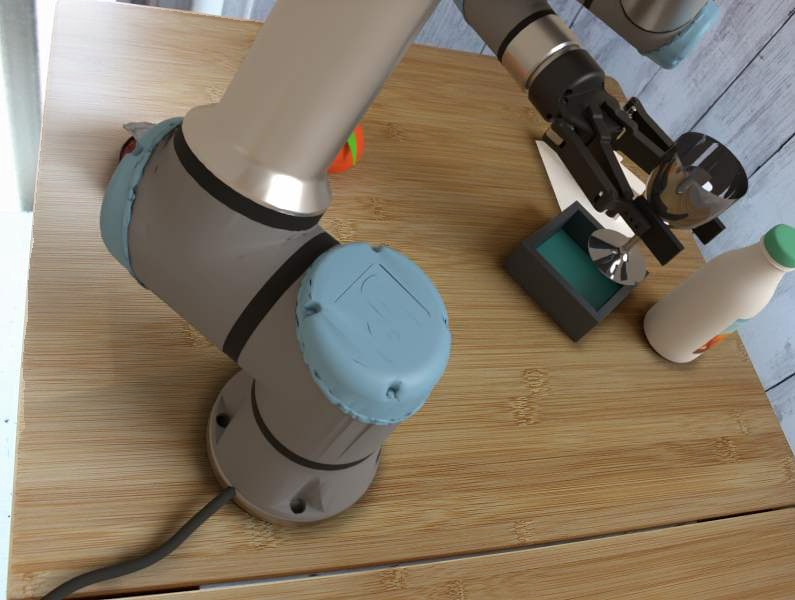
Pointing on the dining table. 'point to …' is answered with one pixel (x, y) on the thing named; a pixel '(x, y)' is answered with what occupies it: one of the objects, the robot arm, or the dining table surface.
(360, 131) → the clementine
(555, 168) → the napkin holder
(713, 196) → the wine glass
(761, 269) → the milk bottle
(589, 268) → the dark grey open box
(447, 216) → the dining table surface
